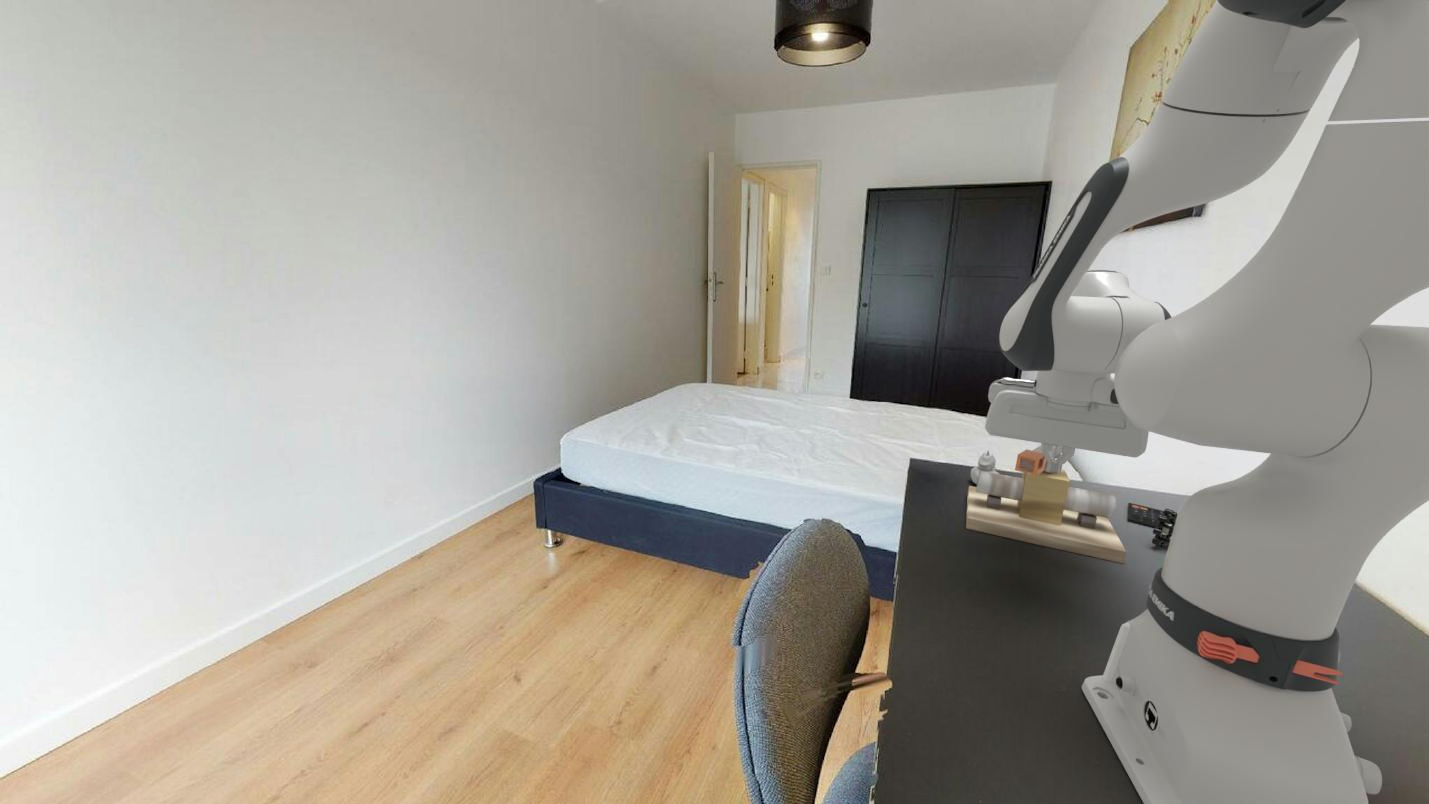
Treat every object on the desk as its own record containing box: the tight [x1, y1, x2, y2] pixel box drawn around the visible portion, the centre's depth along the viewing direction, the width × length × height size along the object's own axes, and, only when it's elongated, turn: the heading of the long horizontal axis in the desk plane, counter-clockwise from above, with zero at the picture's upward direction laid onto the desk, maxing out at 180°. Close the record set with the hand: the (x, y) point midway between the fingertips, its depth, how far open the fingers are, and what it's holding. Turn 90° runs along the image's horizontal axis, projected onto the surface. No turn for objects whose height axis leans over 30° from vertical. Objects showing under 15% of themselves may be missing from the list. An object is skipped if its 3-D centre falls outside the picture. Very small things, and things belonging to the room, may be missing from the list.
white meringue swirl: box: [970, 449, 1000, 485], centre depth 107 cm, size 5×7×8 cm
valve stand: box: [965, 458, 1127, 564], centre depth 89 cm, size 16×22×13 cm
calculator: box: [1126, 502, 1178, 529], centre depth 93 cm, size 9×12×3 cm
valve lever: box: [1014, 445, 1063, 476], centre depth 84 cm, size 14×3×3 cm, turn 132°
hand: (1051, 472), depth 79 cm, fingers closed
